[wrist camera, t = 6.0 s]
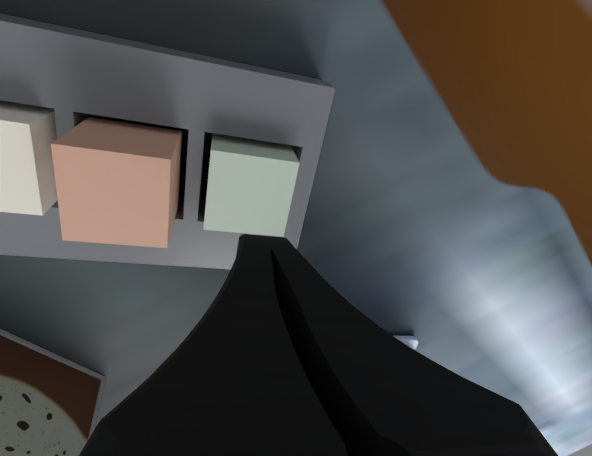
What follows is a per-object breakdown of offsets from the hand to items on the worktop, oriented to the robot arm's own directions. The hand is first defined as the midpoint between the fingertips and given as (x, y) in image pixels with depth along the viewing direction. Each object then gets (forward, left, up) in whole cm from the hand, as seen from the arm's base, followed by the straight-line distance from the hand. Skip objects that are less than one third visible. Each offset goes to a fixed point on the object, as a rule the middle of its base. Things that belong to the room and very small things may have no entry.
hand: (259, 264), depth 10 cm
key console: (+5, 0, -8) cm, 10 cm away
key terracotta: (+5, 0, -7) cm, 8 cm away
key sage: (0, 0, -8) cm, 8 cm away
